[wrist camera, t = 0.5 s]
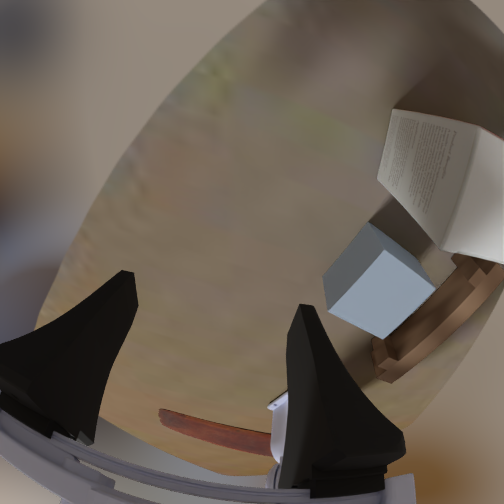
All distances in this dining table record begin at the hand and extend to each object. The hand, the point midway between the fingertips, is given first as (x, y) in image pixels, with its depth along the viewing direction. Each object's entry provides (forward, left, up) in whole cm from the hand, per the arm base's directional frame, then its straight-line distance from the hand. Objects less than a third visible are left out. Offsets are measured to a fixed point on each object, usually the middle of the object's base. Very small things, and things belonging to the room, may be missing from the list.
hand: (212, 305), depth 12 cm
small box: (+11, -9, -11) cm, 18 cm away
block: (+1, -11, -11) cm, 16 cm away
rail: (+1, -20, -11) cm, 23 cm away
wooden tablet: (-37, -17, -12) cm, 42 cm away
